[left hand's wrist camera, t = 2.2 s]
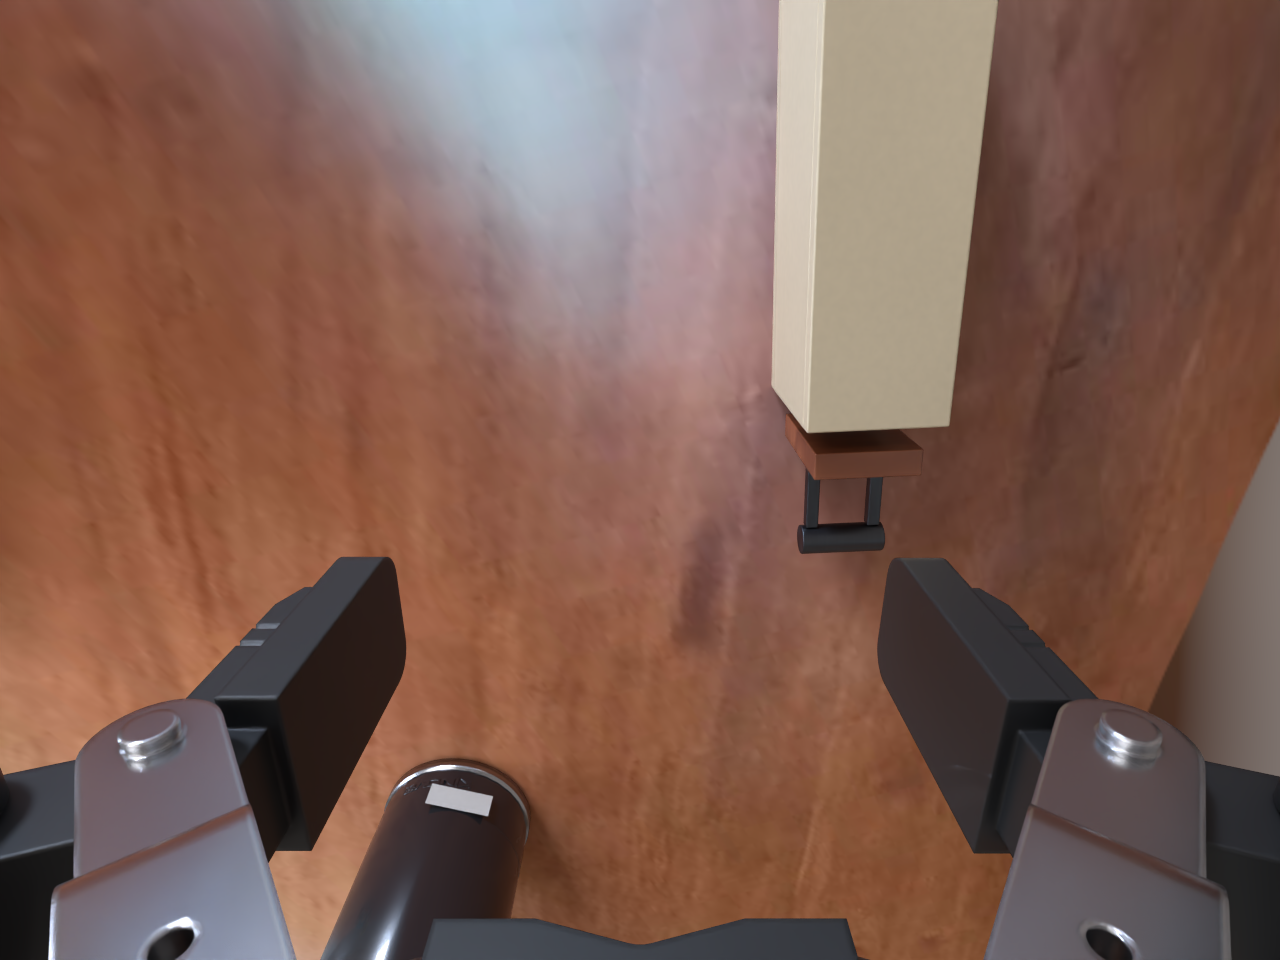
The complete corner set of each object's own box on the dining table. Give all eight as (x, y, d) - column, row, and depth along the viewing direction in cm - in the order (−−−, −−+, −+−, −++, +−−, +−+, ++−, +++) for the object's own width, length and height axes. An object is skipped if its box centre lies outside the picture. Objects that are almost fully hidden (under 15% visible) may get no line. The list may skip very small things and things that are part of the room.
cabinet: (883, 381, 36) (950, 427, 28) (771, 387, 36) (806, 433, 28) (922, -117, 28) (1027, -240, 21) (780, -109, 28) (832, -228, 21)
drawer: (866, 523, 38) (910, 582, 31) (782, 527, 38) (809, 587, 32) (908, -23, 29) (979, -86, 23) (797, -16, 29) (838, -77, 23)
